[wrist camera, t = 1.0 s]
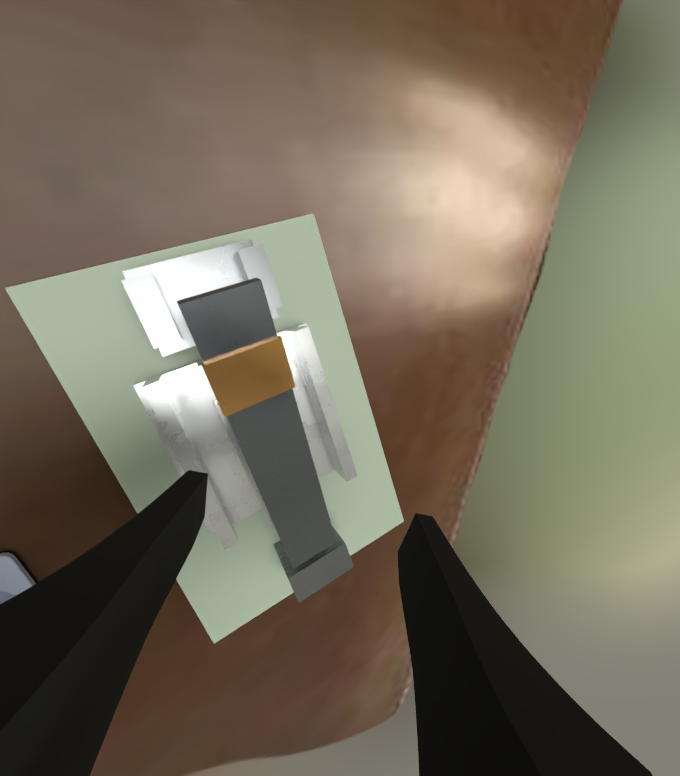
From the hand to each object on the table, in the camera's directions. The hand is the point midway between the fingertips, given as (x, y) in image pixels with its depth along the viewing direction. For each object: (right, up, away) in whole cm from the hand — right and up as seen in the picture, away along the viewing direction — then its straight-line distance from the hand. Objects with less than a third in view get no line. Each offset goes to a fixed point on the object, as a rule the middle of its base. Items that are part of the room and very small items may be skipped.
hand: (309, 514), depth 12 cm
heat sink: (-4, +2, +10) cm, 11 cm away
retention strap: (-2, +1, +5) cm, 6 cm away
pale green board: (-4, +1, +11) cm, 12 cm away
